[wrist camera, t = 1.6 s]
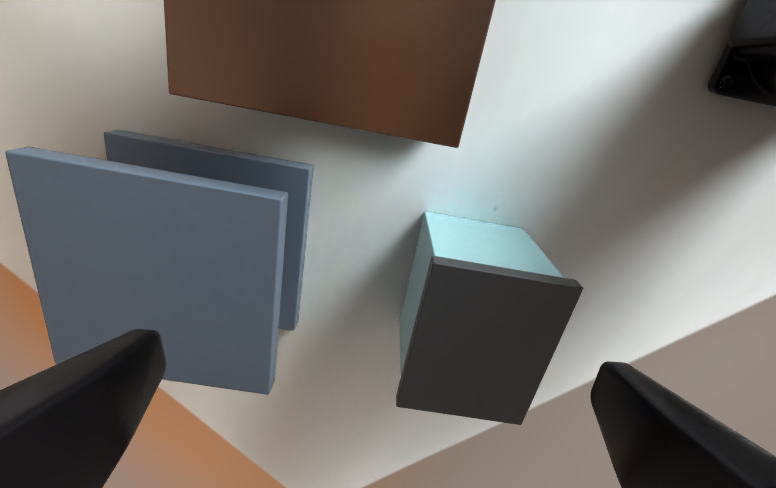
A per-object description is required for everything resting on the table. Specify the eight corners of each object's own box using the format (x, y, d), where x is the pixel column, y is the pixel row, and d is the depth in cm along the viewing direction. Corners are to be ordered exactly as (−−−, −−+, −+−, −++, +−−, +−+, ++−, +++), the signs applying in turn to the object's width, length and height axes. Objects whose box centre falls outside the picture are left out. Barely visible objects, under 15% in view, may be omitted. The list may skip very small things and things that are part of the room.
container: (528, 225, 21) (584, 288, 15) (488, 335, 24) (521, 425, 18) (421, 206, 20) (433, 262, 14) (395, 320, 23) (396, 407, 17)
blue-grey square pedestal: (313, 164, 19) (281, 199, 14) (298, 321, 24) (268, 395, 18) (116, 129, 19) (3, 150, 13) (135, 295, 23) (54, 364, 17)
